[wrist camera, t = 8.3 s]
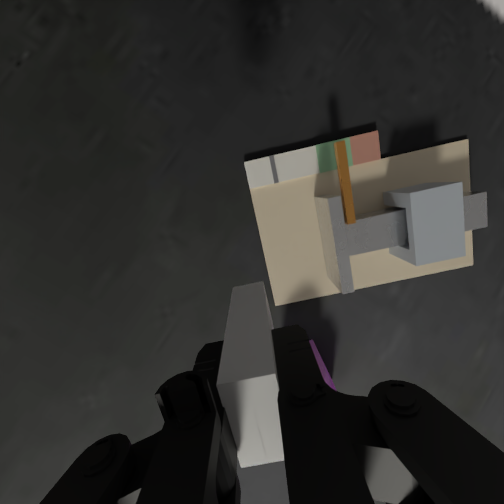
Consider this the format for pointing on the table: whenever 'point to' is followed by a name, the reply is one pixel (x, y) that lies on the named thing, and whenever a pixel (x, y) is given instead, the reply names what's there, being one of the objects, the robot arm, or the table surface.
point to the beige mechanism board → (360, 212)
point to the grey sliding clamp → (370, 225)
